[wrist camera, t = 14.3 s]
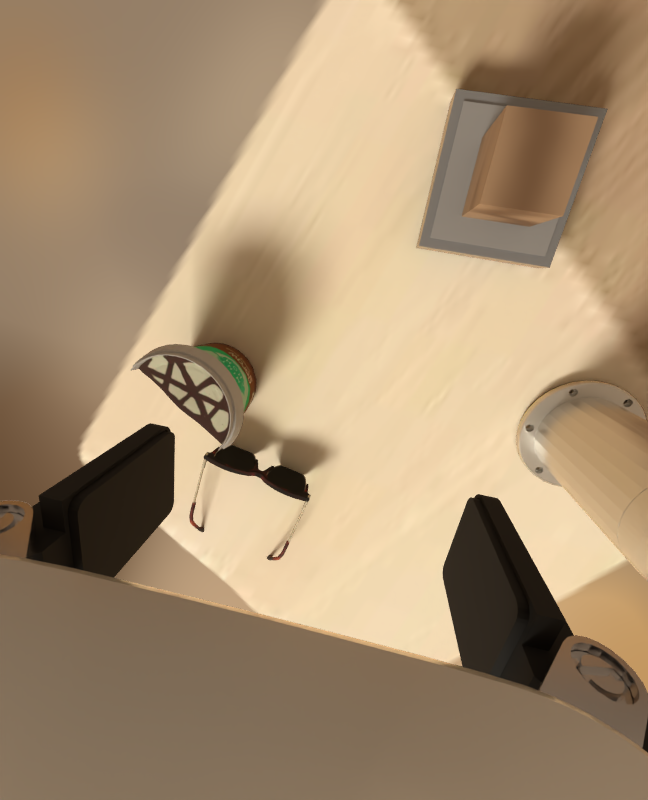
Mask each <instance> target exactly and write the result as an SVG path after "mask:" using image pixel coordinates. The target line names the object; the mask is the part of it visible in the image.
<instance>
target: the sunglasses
mask: <svg viewBox="0 0 648 800" xmlns="http://www.w3.org/2000/svg"><path fill="white" fill-rule="evenodd" d="M219 448H220V447H218V448H216V449H215V450H214V451H213V452H211V453H208V452H207V453H206V454H205V455H204V461H203V465H202V470H201V474H200V478H199V482H198V485H197V489H196V493H195V497H194V500H193V503H192V507H191V511H190V523H191V524H192V525H193V526H194V527H195V528H196V529H198V530H199V531H201V532H204V528H203V527H199V526H198V525H196V524H195V522H194V521H193V513H194V509H195V505H196V502H195V501H196V497H197V493H198V489H199V485H200V481H201V477H202V473H203V470H204V468H205V465H206V461H209V462H210V463H212V464H214V465H216V466H218V467H220V468H222V469H224V470H227V471H230V472H233V473H237V474H241V475H246V476H257V477H259V478H261V479H262V480H263V481H264V482H265V483H266V484H267V485H268V486H270V487H271V488H273V489H275V490H276V491H278V492H280V493H282V494H284V495H287V496H289V497H292V498H295V499H299V500H302V501H305V503H304V506H303V508H302V512H301V514H300V516H299V518H298V521H297V523H296V525H295V527H294V529H293V531H292V534H291V536H290V538H289V540H288V541H287V542H286V544H285V546H284V548H283V550H282V552H281V553H280V555H279V556H278V557H272V556H270V555H269V556H268V557H267V559H268V560H279V559H280V558H281V557H282V556H283V555H284V553H285V551H286V549H287V547H288V545H289V542H290V540H291V537H292V535H293V533H294V531H295V529H296V526H297V524H298V522H299V520H300V518H301V516H302V513H303V511H304V509H305V507H306V505H307V503H308V501H309V498H310V495H309V494H308V484H306V479H305V476H304V475H303V474H301V473H298V472H296V471H293V470H291V469H289V468H286V467H284V466H282V465H279V466H276V467H274V466H271V467H269V468H268V469H266V470H265V471H260V470H259V469H258V460H257V459H256V458H255V455H254V454H252V453H250V452H248V451H245V450H243V449H240V448H238V447H236V446H233V445H230V446H228V447H226V448H225V449H223V448H221V449H220V450H218V449H219Z"/></svg>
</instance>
